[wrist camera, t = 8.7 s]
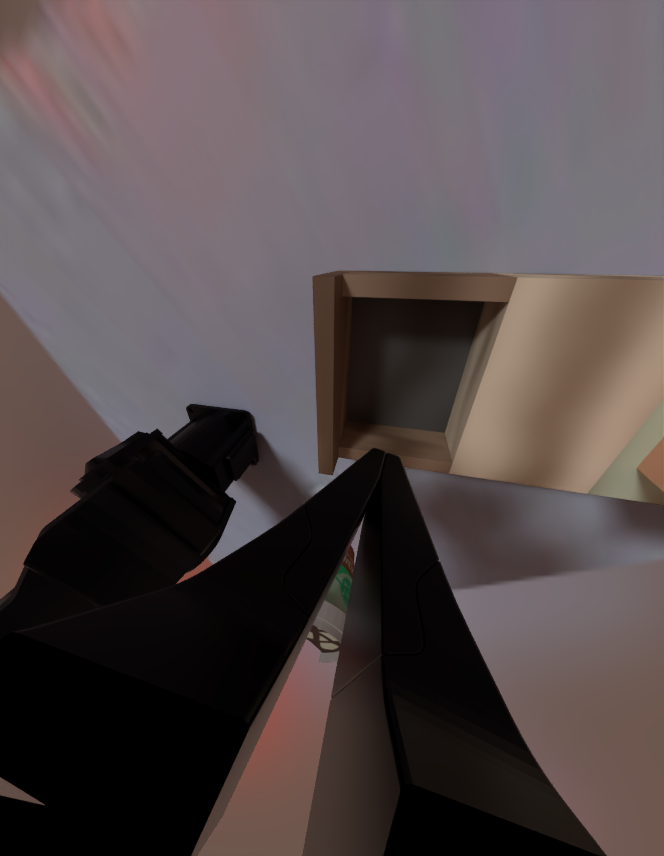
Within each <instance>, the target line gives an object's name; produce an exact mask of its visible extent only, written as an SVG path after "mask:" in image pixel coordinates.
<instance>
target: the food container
mask: <svg viewBox="0 0 664 856" xmlns="http://www.w3.org/2000/svg"><path fill="white" fill-rule="evenodd" d="M353 566H354V551H353V548H352V547H351V545H350V547H349V549H348V552H347V554H346V556H345V558H344V560H343V562H342V564H341V566H340V568H339V571H338V573H337V575H336V577H335V579H334V581H333V583H332V585H331V587H330V590H329V592H328V594H327V596H326V598H325V600H324V602H323V604H322V607H321V609H320V611H319V613H318V615H317V617H316V619H315V621H314V623H313V626H312V628H311V630H310V632H309V634H308V636H307V638H306V639H307V640H309V641H310V642H312V643H313V644H314V645H315V646H316V647H317V648H318V649H319V650H320V651H321V652H320V659H319V662H326V663H328V662H337V661H338V656H339V651H340V645H341V640H342V634H343V629H344V623H345V618H346V612H347V606H348V601H349V595H350V590H351V584H352V579H353Z"/></svg>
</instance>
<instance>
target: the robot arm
mask: <svg viewBox="0 0 664 856" xmlns="http://www.w3.org/2000/svg"><path fill="white" fill-rule="evenodd" d="M192 409H193V410H192ZM186 410H187V413H188V416H189V418H190V422H189V423H187V424H186V425H185V426H184V427H182V428H181V429H180V430H179V431H177V432H176V433H175V434H173V435H172V436H171V437H170V438H168V439H166V438H165V437H164V436H163V435H162V434H163V433H162V432H161V431H159V430H158V429H156V430H154V431H153V432H151V433H150V434H149V433H143V432H139V431H138V432H137V433H135V434H134V435H132V436H131V437H129V438H128V439H126V440H125V441H123V442H121V443H120V444H118V445H116V446H115V447H113V448H111V449H109V450H107V451H105V452H104V453H102V454H100V455H98V456H96V457H94V458H93V459H91V460H90V461H89V462H87V463H86V465H85V475H84V476H83V477H82V478H80V479H79V480H80V481H81V482H80V483H79V484H78V485H76V486H75V487H74V488H73V489H72V490H70V492H71V493H73V494H74V495H76V496H77V497H79V498H80V500H79V501H78V502H76V503H75V504H74V505H73V506H71V507H70V508H69V509H67V510H66V511H65V512H63V513H62V514H61V515H59V516H58V517H57V518H56V519H54V520H53V521H52V522H50V523H49V524H48V525H46V526H45V527H44V528H43V529H42V530H41V532H40V534H39V536H38V538H37V540H36V541H35V543H34V544H33V546H32V548H31V550H30V552H29V554H28V555H27V557H26V559H25V561H24V568H23V571H22V573H21V575H20V578H19V579H18V582H17V584H16V586H15V587H14V588H13V589H12V590H11V591H10V592H9V593H7V594H6V595H5V596H4V597H3V598H1V599H0V856H197V855H198V854H199V852H200V850H201V849H202V847H203V846H204V844H205V843H206V841H207V840H208V838H209V836H210V835H211V833H212V831H213V830H214V829H215V827H216V826H217V824H218V822H219V821H220V819H221V818H222V816H223V814H224V812H225V810H226V807H227V805H228V803H229V801H230V799H231V797H232V795H233V793H234V791H235V788H236V786H237V784H238V782H239V780H240V778H241V776H242V774H243V771H244V769H245V767H246V765H247V763H248V761H249V759H250V757H251V755H252V752H253V750H254V748H255V746H256V744H257V742H258V740H259V738H260V736H261V733H262V731H263V729H264V727H265V725H266V723H267V721H268V719H269V716H270V714H271V712H272V710H273V708H274V706H275V703H276V701H277V700H278V697H279V695H280V693H281V691H282V689H283V687H284V685H285V683H286V681H287V678H288V676H289V674H290V672H291V670H292V668H293V666H294V664H295V662H296V659H297V657H298V655H299V653H300V651H301V649H302V647H303V644H304V642H305V640H306V638H307V636H308V634H309V632H310V630H311V628H312V626H313V623H314V621H315V619H316V617H317V615H318V613H319V611H320V609H321V607H322V604H323V602H324V600H325V598H326V596H327V594H328V592H329V590H330V587H331V585H332V583H333V581H334V579H335V577H336V575H337V573H338V571H339V568H340V566H341V564H342V562H343V560H344V558H345V556H346V554H347V552H348V549H349V547H350V545H351V543H352V541H353V539H354V537H355V535H356V533H357V530H358V528H359V526H360V524H361V522H362V519H363V517H364V520H363V524H362V529H361V535H360V540H359V546H358V551H357V557H356V562H355V568H354V573H353V579H352V584H351V590H350V595H349V601H348V606H347V612H346V618H345V623H344V629H343V634H342V640H341V645H340V651H339V656H338V662H337V667H336V673H335V678H334V684H333V690H332V695H331V698H332V699H331V701H330V706H329V712H328V717H327V722H326V729H325V734H324V739H323V744H322V750H321V755H320V761H319V767H318V772H317V778H316V783H315V789H314V795H313V800H312V805H311V811H310V816H309V822H308V827H307V833H306V838H305V844H304V849H303V855H302V856H607V855H606V854H605V853H604V852H603V850H602V849H601V848H600V846H599V845H598V844H597V843H596V841H595V840H594V839H593V837H592V836H591V835H590V834H589V832H588V831H587V830H586V828H585V827H584V826H583V825H582V823H581V822H580V821H579V819H578V818H577V817H576V816H575V814H574V813H573V812H572V810H571V809H570V808H569V807H568V806H567V804H566V803H565V801H564V800H563V799H562V797H561V796H560V795H559V793H558V792H557V791H556V789H555V788H554V787H553V785H552V784H551V782H550V781H549V779H548V778H547V776H546V775H545V774H544V772H543V770H542V769H541V767H540V766H539V764H538V763H537V761H536V759H535V758H534V756H533V755H532V753H531V751H530V749H529V748H528V746H527V744H526V742H525V741H524V739H523V737H522V735H521V734H520V732H519V730H518V728H517V726H516V724H515V722H514V720H513V718H512V716H511V714H510V712H509V710H508V708H507V706H506V704H505V702H504V700H503V698H502V696H501V694H500V691H499V689H498V687H497V686H496V684H495V681H494V679H493V677H492V675H491V673H490V671H489V669H488V667H487V665H486V663H485V661H484V659H483V657H482V655H481V653H480V651H479V649H478V647H477V645H476V642H475V641H474V638H473V636H472V634H471V632H470V630H469V628H468V626H467V624H466V621H465V619H464V617H463V615H462V613H461V611H460V609H459V606H458V604H457V602H456V600H455V597H454V595H453V592H452V590H451V587H450V585H449V583H448V580H447V578H446V575H445V573H444V570H443V567H442V565H441V562H440V561H438V560H439V557H438V555H437V552H436V549H435V547H434V544H433V542H432V539H431V537H430V534H429V531H428V529H427V526H426V524H425V521H424V518H423V516H422V513H421V511H420V508H419V505H418V503H417V500H416V498H415V495H414V492H413V490H412V487H411V485H410V482H409V479H408V477H407V474H406V472H405V469H404V466H403V464H402V461H401V459H400V457H399V456H396V455H394V454H391V453H387V454H386V452H385V451H383V450H380V449H377V448H372V449H371V450H370V451H369V452H367V453H366V454H365V455H364V456H362V457H361V458H360V459H359V460H357V461H356V462H355V463H354V464H352V465H351V466H350V467H349V468H348V469H346V470H345V471H344V472H343V473H341V474H340V475H339V476H338V477H336V478H335V479H334V480H333V481H331V482H330V483H329V484H328V485H327V486H325V487H324V488H323V489H322V490H320V491H319V492H318V493H317V494H315V495H314V496H313V497H312V498H310V499H309V500H308V501H307V502H305V504H304V505H302V506H300V507H299V508H298V509H297V510H295V511H294V512H293V513H292V514H290V515H289V516H288V517H286V518H285V519H284V520H282V521H281V522H280V523H278V524H277V525H275V526H274V527H272V528H271V529H269V530H268V531H266V532H265V533H263V534H262V535H260V536H259V537H257V538H255V539H254V540H252V541H251V542H249V543H247V544H246V545H244V546H243V547H241V548H239V549H238V550H236V551H234V552H233V553H231V554H230V555H228V556H226V557H225V558H223V559H222V560H220V561H218V562H217V563H215V564H213V565H212V566H210V567H209V568H207V569H205V570H204V571H202V572H200V573H198V574H197V575H195V576H193V577H191V578H189V579H187V580H184V581H182V582H180V583H178V584H176V583H177V582H178V581H179V580H180V579H181V578H182V577H183V576H184V574H185V573H187V572H190V571H191V570H193V569H195V568H196V567H197V566H198V565H199V564H201V563H202V562H203V561H204V560H205V559H206V558H207V557H208V555H209V554H210V553H211V552H212V551H213V549H214V548H215V547H216V545H217V544H218V542H219V540H220V538H221V536H222V534H223V532H224V529H225V527H226V525H227V522H228V520H229V517H230V515H231V513H232V510H233V508H234V506H235V503H236V501H235V500H234V499H233V498H232V497H231V498H230V497H229V496H228V495H227V494H226V493H225V491H226V490H227V488H228V487H229V486H230V484H231V483H232V482H233V480H234V481H237V480H238V479H239V478H240V477H241V476H242V474H243V473H244V471H245V470H246V469H247V467H248V466H249V465H257V463H258V462H259V459H258V450H257V445H256V440H255V435H254V433H253V429H252V424H251V419H250V415H249V413H248V412H247V411H245V410H237V409H229V408H221V407H213V406H205V405H196V404H190V405H189V406H187V407H186ZM243 415H244V416H245V417H244V416H243ZM253 460H254V461H253Z"/></svg>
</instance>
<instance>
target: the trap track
mask: <svg viewBox="0 0 664 856" xmlns="http://www.w3.org/2000/svg"><path fill="white" fill-rule="evenodd" d="M313 306H314V338H315V370H316V402H317V433H318V465H319V473H321V474H327V475H333V472H334V469H335V466H336V463H337V459H338V457H340V458H347V459H354V460H359V459H360V458H361V457H362V456H364V455H365V454H366V453H367V452H369V451H370V450H371V449H372V448H377V449H380V450H383V451H385V452H386V454H387V453H391V454H394V455H396V456H399V457H400V459H401V461H402V464H403V466H404V467H408V468H415V469H422V470H428V471H435V472H442V473H449V474H456V475H463V476H469V477H476V478H483V479H490V480H497V481H503V482H510V483H517V484H524V485H531V486H537V487H544V488H551V489H558V490H565V491H571V492H578V493H585V494H592V495H599V496H606V497H612V498H619V499H626V500H633V501H640V502H646V503H653V504H660V505H664V492H663V491H662V490H661V489H660V488H659V487H657V486H656V485H655V484H654V483H653V482H652V481H651V480H650V479H648V478H647V477H646V476H645V475H644V474H643V473H642V472H641V471H639V470H638V469H637V467H638V465H639V464H640V463H641V462H642V461H643V460H644V459H645V457H646V456H647V455H648V454H649V453H650V452H651V451H652V449H653V448H654V447H655V446H656V445H657V444H658V443H659V442H660V440H661V439H662V438H663V437H664V276H638V275H577V274H515V273H453V272H392V271H335V272H330V273H325V274H321V275H316V276H313Z"/></svg>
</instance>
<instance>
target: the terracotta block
mask: <svg viewBox="0 0 664 856" xmlns="http://www.w3.org/2000/svg"><path fill="white" fill-rule="evenodd" d="M637 469H638V470H639V471H641V472H642V473H643V474H644V475H645V476H646V477H647V478H648V479H650V480H651V481H652V482H653V483H654V484H655V485H656V486H657V487H659V488H660V489H661V490H662V491H663V492H664V437H663V438H662V439H661V440H660V442H659V443H658V444H657V445H656V446H655V447H654V448H653V449H652V451H651V452H650V453H649V454H648V455H647V456H646V457H645V459H644V460H643V461H642V462H641V463H640V464H639V465H638V467H637Z"/></svg>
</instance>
